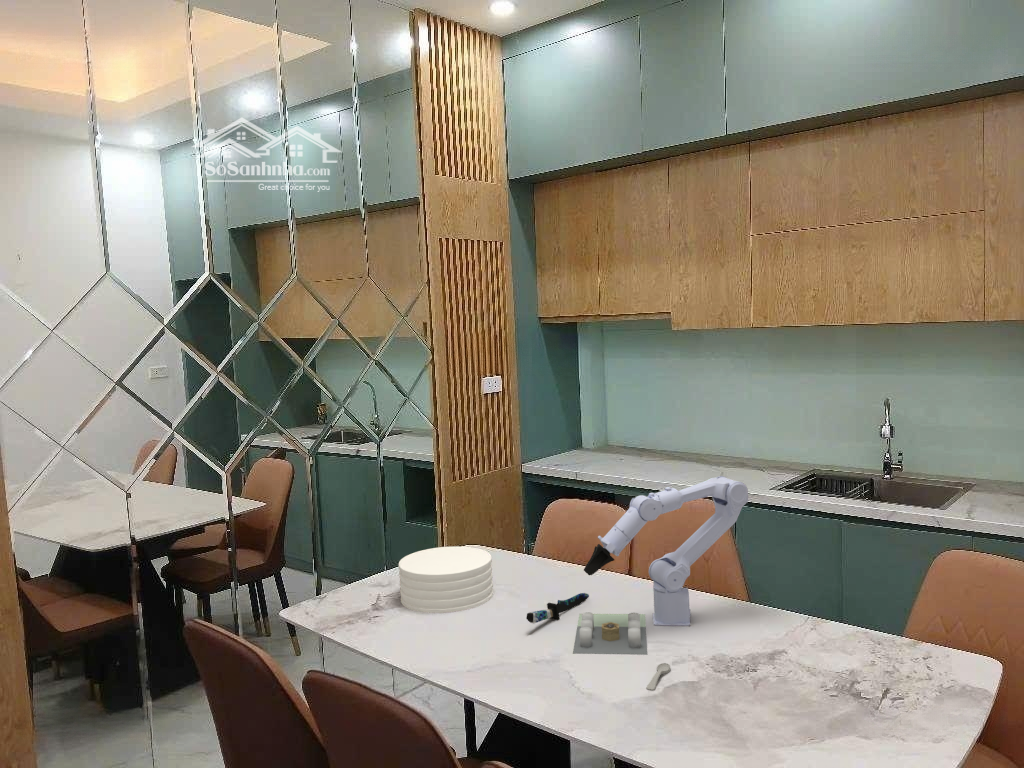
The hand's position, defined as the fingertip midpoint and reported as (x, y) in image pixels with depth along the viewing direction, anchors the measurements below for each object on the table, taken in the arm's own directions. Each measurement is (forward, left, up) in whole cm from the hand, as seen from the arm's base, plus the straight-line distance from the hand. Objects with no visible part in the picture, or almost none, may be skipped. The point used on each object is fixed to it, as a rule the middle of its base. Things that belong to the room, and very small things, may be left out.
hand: (587, 572), depth 199 cm
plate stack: (+45, -27, -17) cm, 55 cm away
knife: (+9, -12, -16) cm, 22 cm away
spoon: (-17, +25, -17) cm, 34 cm away
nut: (-5, +3, -16) cm, 17 cm away
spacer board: (-5, 0, -16) cm, 17 cm away
